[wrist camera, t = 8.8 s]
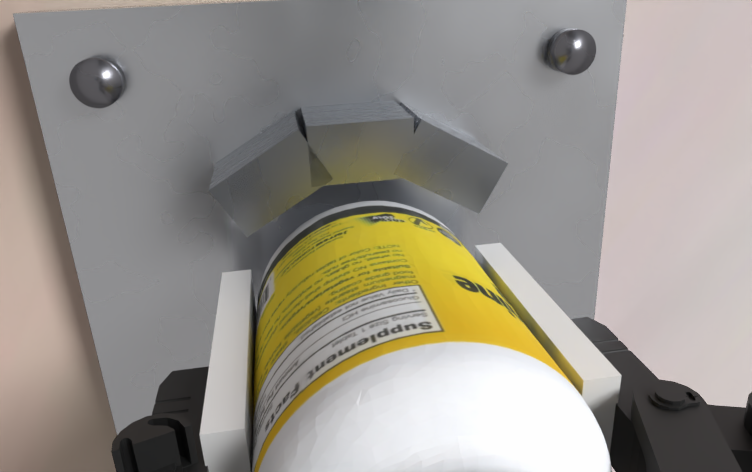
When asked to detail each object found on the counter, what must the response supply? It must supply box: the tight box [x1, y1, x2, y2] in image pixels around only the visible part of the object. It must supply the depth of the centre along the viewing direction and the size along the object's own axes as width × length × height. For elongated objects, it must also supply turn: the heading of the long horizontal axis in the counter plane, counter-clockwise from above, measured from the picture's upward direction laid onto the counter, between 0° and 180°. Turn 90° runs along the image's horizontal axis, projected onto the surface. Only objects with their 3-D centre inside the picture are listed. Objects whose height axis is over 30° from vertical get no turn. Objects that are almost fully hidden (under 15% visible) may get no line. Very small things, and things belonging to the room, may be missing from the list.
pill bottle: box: [252, 201, 612, 472], centre depth 13 cm, size 6×6×11 cm
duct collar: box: [13, 0, 627, 435], centre depth 19 cm, size 16×16×4 cm
